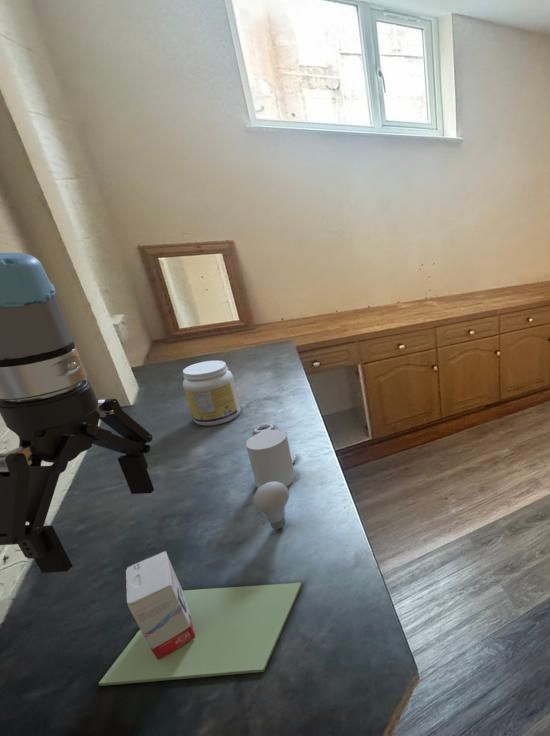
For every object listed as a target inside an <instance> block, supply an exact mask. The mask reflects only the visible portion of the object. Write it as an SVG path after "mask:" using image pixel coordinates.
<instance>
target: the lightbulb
mask: <svg viewBox="0 0 550 736" xmlns="http://www.w3.org/2000/svg"><path fill="white" fill-rule="evenodd" d="M289 496H290V491H289V488H288V487H286V486H285V485H284V484H283V483H281V482H277V481H272V482H268V483H265V484H264V485H262V486H261V487H259V489H257V490H256V491H255V493H254V496H253V505H254V507H255V509H256V510H257V511H259V512H260V513H261V514H263V515H265V517H266V519H267V522H269V524H270V527H271V529H273V530H279V529H281V528H283V527H284V526H285V524H286V520H285V519H286V518H285V516H286V511H285V510H286V505H287V503H288V501H289Z"/></svg>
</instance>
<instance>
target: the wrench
mask: <svg viewBox="0 0 550 736" xmlns="http://www.w3.org/2000/svg"><path fill="white" fill-rule="evenodd" d="M274 428H275V427H274V424H272V423H266V424H265V423H264V424H261V425H259V426H257V427H255V428H254V429H253V432H254V434H255V435H256V434H258V433H260V432H263V431H267V430H274ZM290 453H291V458H292V462H293V464H294V463H295V462H296V461H297V456H296V454H294V453H292V452H290Z"/></svg>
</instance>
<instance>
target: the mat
mask: <svg viewBox="0 0 550 736" xmlns="http://www.w3.org/2000/svg"><path fill="white" fill-rule="evenodd" d="M302 586H303V583H302V582H289V583H274V584H259V585H245V586H231V587H230V586H229V587H215V588H199V589H185V590H183V589H182V590H183V593H184V595H185V597H186V600H187V602H188V606H189V611H190V615H191V620H192V624H193V628H194V632H195V638H193V639H192V640H190V641H189V642H187V643H186V644H184V645H182V646H181V647H179V648H178V649H176V650H175V651H173V652H171V653H169V654H168V655H166V656H164V657H163V658H161V659H156V657H155V655H154V654H153V652H152V650H151V648H150V646H149V644H148V643H147V641H146V639H145V637H144V635H143V633H142V631H141V630H140V629H139V630H138V631H137V632H136V634H135V635H134V637H133V638H132V639H131V640H130V642H129V643H128V644H127V646H125V648H124V649H123V651H122V652H121V653H120V655H119V656H118V657H117V658H116V660H115V661H114V663H113V664H112V665H111V666H110V668H109V669H108V670H107V672H106V673H105V674H104V676H103V677H101V679H100V681H98V686H99V687H107V686H116V685H128V684H139V683H149V682H151V683H152V682H161V681H172V680H183V679H184V680H186V679H195V678H196V679H197V678H208V677H221V676H232V675H233V676H234V675H243V674H244V675H245V674H254V673H264V672H265V671H266V669H267V667H268V664H269V662H270V659H271V657H272V655H273V652H274V650H275V648H276V645H277V643H278V641H279V639H280V637H281V634H282V632H283V629H284V627H285V626H286V623H287V622H288V621H287V620H288V618H289V616H290V614H291V612H292V609H293V607H294V604H295V602H296V600H297V598H298V595H299V593H300V590H301V589H302Z"/></svg>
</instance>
